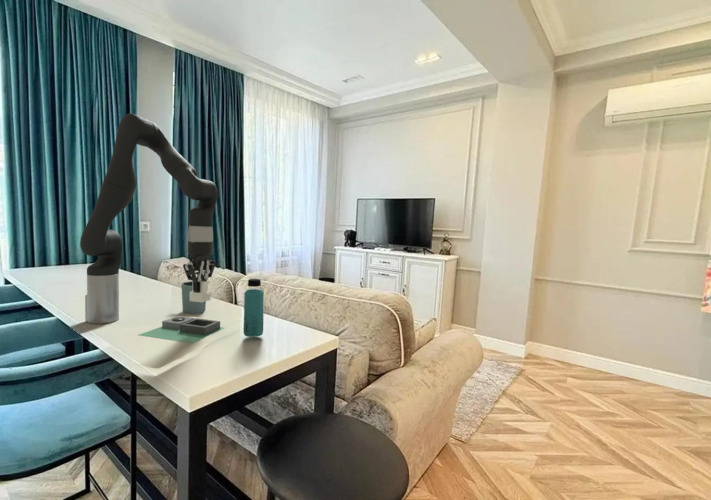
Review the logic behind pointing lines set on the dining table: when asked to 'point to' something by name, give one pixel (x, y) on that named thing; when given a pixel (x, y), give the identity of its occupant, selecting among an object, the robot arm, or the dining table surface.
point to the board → (184, 329)
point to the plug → (201, 293)
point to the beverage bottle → (253, 309)
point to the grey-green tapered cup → (190, 306)
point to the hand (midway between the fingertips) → (200, 291)
